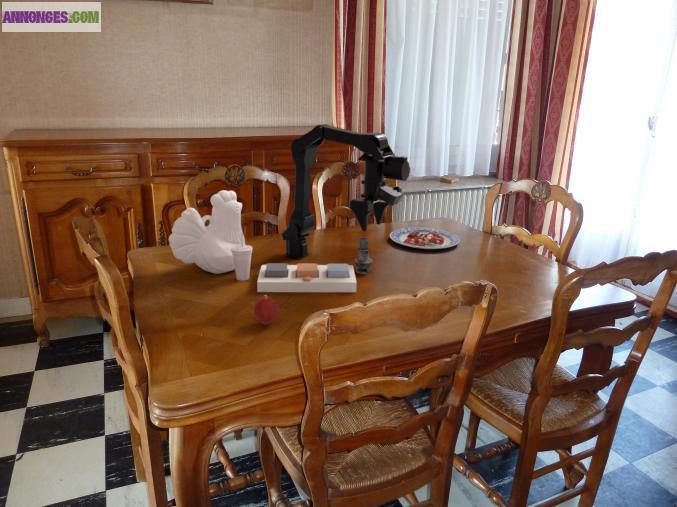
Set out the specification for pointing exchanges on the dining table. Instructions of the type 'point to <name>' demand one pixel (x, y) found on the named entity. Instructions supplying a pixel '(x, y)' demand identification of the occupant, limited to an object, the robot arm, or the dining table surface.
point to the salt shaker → (363, 257)
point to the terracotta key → (307, 270)
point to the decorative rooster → (209, 234)
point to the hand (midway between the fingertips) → (371, 227)
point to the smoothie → (242, 260)
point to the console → (306, 281)
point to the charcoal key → (276, 270)
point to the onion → (265, 310)
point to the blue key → (337, 271)
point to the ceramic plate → (424, 238)
